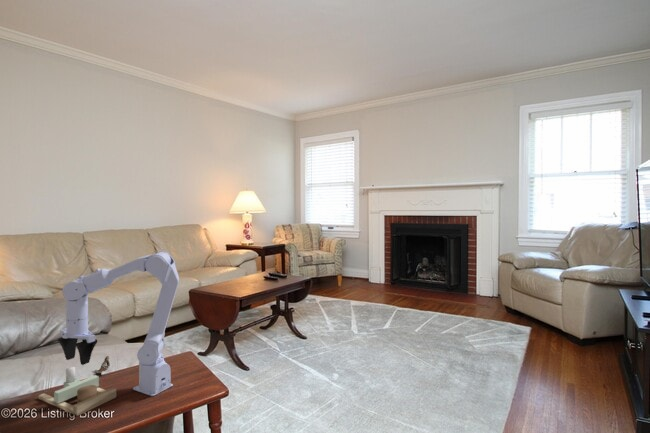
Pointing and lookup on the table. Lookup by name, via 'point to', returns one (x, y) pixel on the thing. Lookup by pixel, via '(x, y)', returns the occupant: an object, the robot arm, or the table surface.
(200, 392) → the table surface
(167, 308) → the robot arm
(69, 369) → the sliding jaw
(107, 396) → the frame
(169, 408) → the table surface
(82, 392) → the walnut puck
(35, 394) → the table surface
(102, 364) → the brown figurine
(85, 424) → the table surface
